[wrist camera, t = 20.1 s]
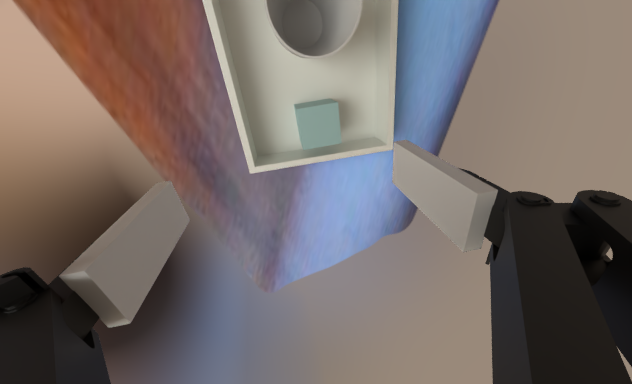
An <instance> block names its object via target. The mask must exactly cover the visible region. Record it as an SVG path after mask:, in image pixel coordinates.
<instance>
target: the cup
mask: <svg viewBox="0 0 632 384" xmlns="http://www.w3.org/2000/svg"><path fill="white" fill-rule="evenodd" d="M362 3H363V0H264V6H265V11H266V15H267V18H268V21H269V23H270V26H271V28H272V30H273V32H274V34H275V36H276V38H277V39H278V41H279V42H280V43H281V45H282V46H283V47H284V48H285V49H286V50H288V51H289V52H290V53H292V54H294V55H296V56H298V57H301V58H308V59H320V58H325V57H328V56H331V55H333V54H335V53H336V52H338V51H339V50H340V49H342V48H343V47H344V46H345V45H346V44H347V43H348V41H349V40H350V39H351V37H352V36H353V34H354V32H355V30H356V28H357V26H358V23H359V20H360V16H361V11H362Z"/></svg>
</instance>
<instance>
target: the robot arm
mask: <svg viewBox="0 0 632 384" xmlns="http://www.w3.org/2000/svg"><path fill="white" fill-rule="evenodd" d="M392 182H393V183H394V184H395V185H396V186H397V187H398V188H399V189H400V190H401V191H402V192H403V193H404V194H405V195H406V196H407V197H408V198H409V199H410V200H411V201H412V202H413V203H414V204H415V205H416V206H417V207H418V208H419V209H420V210H421V211H422V212H423V213H424V214H425V215H426V216H427V217H428V218H429V219H430V220H431V221H432V222H433V223H434V224H435V225H436V226H437V227H438V228H439V229H440V230H441V231H442V232H443V233H444V234H445V235H446V236H447V237H448V238H449V239H450V240H452V241H453V242H454V243H455V244H456V245H457V246H458V247H459V248H460V249H461V250H462V251H463V252H467V251H471V250H476V249H481V247H482V243H483V240H484V237H486V238H487V239H488V240H489V241H491V242H492V245H491V248H490V251H489V254H488V257H487V261H486V264H489V263H490V279H491V318H492V319H491V323H492V366H493V367H492V368H493V384H632V381H631V379H630V377H629V374H628V372H627V370H626V367H625V365H624V363H623V361H622V358H621V356H620V353H619V351H618V349H619V350H620V351H621V353H622V354H623V355H624V357H625V358H626V360H627V361H628V362H629V364H630V365H631V366H632V201H631V200H629V199H627V198H625V197H623V196H619V195H617V194H615V193H612V192H606V191H601V190H600V191H594V190H586V191H581V192H578V193H577V195H576V197H575V199H574V201H573V203H554V202H553V200H551V199H549V198H548V197H546V196H543V195H540V194H537V193H532V192H522V191H518V192H512V193H510V192H508V191H506V190H504V189H502V188H500V187H499V186H497V185H495V184H493V183H491V182H489V181H486V179H484V178H482V177H479V176H478V175H476V174H474V173H472V172H470V171H467V170H464V169H460V168H456V167H455V166H453V165H451V164H449V163H447V162H446V161H444V160H442V159H440V158H439V157H437V156H435V155H433V154H431V153H429V152H428V151H426V150H424V149H422V148H420V147H419V146H417V145H415V144H413V143H411V142H409V141H408V140H402V141H396V142H394V155H393V180H392ZM189 221H190V219H189V217H188V215H187V213H186V211H185V209H184V207H183V205H182V203H181V201H180V199H179V197H178V195H177V193H176V191H175V189H174V187H173V184H172V182H171V181H166V182H161V183H156V184H155V185H154V186H153V187H152V188H151V189H150V190H149V191H148V192H147V193H146V194H145V195H144V196H143V197H142V198H141V199H139V200H138V201H137V202H136V203H135V204H134V205H133V206H132V207H131V208H130V209H129V210H128V211H127V212H126V213H125V214H124V215H123V216H121V217H120V218H119V219H118V220H117V221H116V222H115V223H114V224H113V225H112V226H111V227H110V228H109V229H108V230H107V231H106V232H105V233H104V234H103V235H101V236H100V237H99V238H98V239H97V240H96V241H95V242H94V243H92V244H91V245H90V246H89V247H88V248H87V249H86V250H85V251H84V252H83V253H82V254H81V255H79V256H78V257H77V258H76V259H75V261H73V262H72V263H71V264H70V265H69V266H68V267H67V268H66V269H65V270H64V271H62V272H61V273H60V274H59V275H58V276H57V277H56V278H55V279H54V280H53V281H52V282H51V283H50V284H49V285H47V284H46V283H45V282H44V281H43V280H42V279H41V278H40V277H39V276H38V275H37V274H36V273H35V272H34V271H33V270H32V269H31V268H20V269H16V270H13V271H10V272H7V273H5V274H2V275H0V384H111V383H110V379H109V375H108V371H107V367H106V363H105V359H104V355H103V351H102V348H101V343H100V340H99V335H98V333H97V332H96V331H95V330H94V329H93V328H92V327H93V326H94V324H95V323H96V322H97V320H98V319H99V318H100V319H101V320H102V321H103V322H104V323H105V324H106V325H107V326H108V327H115V326H119V325H124V324H129V323H131V321H132V320H133V318H134V316H135V314H136V313H137V311H138V309H139V308H140V306H141V304H142V302H143V301H144V299H145V297H146V295H147V294H148V292H149V290H150V288H151V287H152V285H153V283H154V281H155V280H156V278H157V276H158V275H159V272H160V271H161V269H162V268H163V266H164V264H165V262H166V261H167V259H168V257H169V255H170V253H171V252H172V250H173V249H174V247H175V245H176V243H177V242H178V240H179V238H180V236H181V235H182V233H183V231H184V230H185V228H186V226H187V224H188V223H189ZM610 247H611V249H612V251H613V258H612V260H610V258H609V257H608V256H607V255H606V253H607V252H608V250H609V249H610ZM617 347H618V349H617Z"/></svg>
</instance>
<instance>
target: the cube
mask: <svg viewBox="0 0 632 384" xmlns="http://www.w3.org/2000/svg"><path fill="white" fill-rule="evenodd" d="M294 109H295V115H296V121H297V126H298V132H299V138H300V142H301V145H302V148H303V150H307V149H313V148H318V147H323V146H329V145H334V144H340V143H342V142H341V130H340V119H339V108H338V102H337V101H334V100H332V99H330V98H329V99H323V100H317V101H311V102H305V103H299V104H294Z"/></svg>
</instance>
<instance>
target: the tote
mask: <svg viewBox="0 0 632 384" xmlns="http://www.w3.org/2000/svg"><path fill="white" fill-rule="evenodd" d="M203 4H204V8H205V11H206V15H207V19H208V22H209V26H210V29H211V33H212V37H213V40H214V44H215V48H216V51H217V55H218V58H219V62H220V66H221V69H222V73H223V77H224V80H225V84H226V87H227V91H228V95H229V98H230V102H231V106H232V109H233V113H234V117H235V120H236V124H237V127H238V131H239V135H240V138H241V142H242V146H243V149H244V153H245V156H246V160H247V164H248V167H249V171H250V174H251V173H257V172H263V171H269V170H275V169H281V168H287V167H293V166H299V165H305V164H311V163H317V162H323V161H328V160H334V159H340V158H346V157H352V156H358V155H364V154H370V153H376V152H382V151H388V150H393V133H394V106H395V79H396V52H397V25H398V0H363V3H362V11H361V16H360V20H359V23H358V26H357V28H356V30H355V32H354V34H353V36H352V37H351V39H350V40H349V41H348V43H347V44H346V45H345V46H344V47H343V48H342V49H340V50H339V51H338V52H336V53H335V54H333V55H331V56H328V57H325V58H320V59H308V58H301V57H298V56H296V55H294V54H292V53H290V52H289V51H288V50H286V49H285V48H284V47H283V46H282V45H281V43H280V42H279V41H278V39H277V38H276V36H275V34H274V32H273V30H272V28H271V26H270V23H269V21H268V18H267V15H266V11H265V6H264V0H203ZM329 98H330V99H332V100H334V101H337V102H338V108H339V119H340V130H341V142H342V143H340V144H334V145H329V146H323V147H318V148H313V149H307V150H303V148H302V145H301V142H300V138H299V132H298V126H297V121H296V115H295V109H294V104H299V103H305V102H311V101H317V100H323V99H329Z"/></svg>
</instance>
